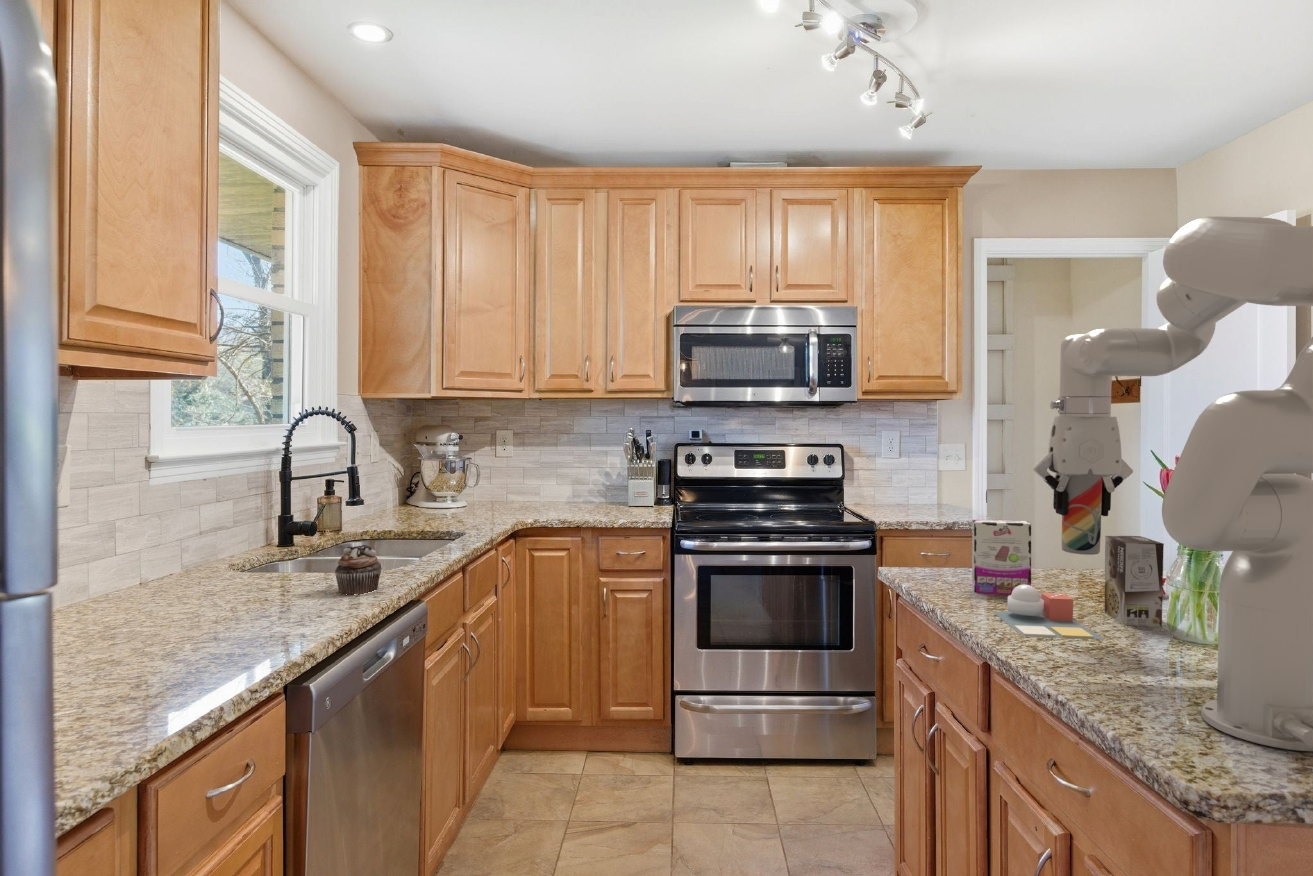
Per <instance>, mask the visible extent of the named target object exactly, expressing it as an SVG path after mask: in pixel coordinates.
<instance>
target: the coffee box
mask: <svg viewBox="0 0 1313 876" xmlns="http://www.w3.org/2000/svg"><path fill="white" fill-rule="evenodd" d="M1104 538H1105V540H1104V541H1105V542H1104V549H1105V550H1104V555H1105V556H1104V614H1106V615H1107V616H1110V617H1111V618H1113V619H1114V620H1116V621H1117V622H1119V623H1121V624H1122V625H1123V626H1135V627H1153V628H1155V627H1157V628H1158V627H1159V628H1162V627H1163V596H1162V594H1163V589H1164V586H1163V578H1164V547H1165V546H1164V545H1165V543H1162V542H1160V541H1157V540H1153V539H1150V538H1147V537H1143V536H1139V535H1105V536H1104Z"/></svg>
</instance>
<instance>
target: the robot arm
mask: <svg viewBox="0 0 1313 876" xmlns="http://www.w3.org/2000/svg"><path fill="white" fill-rule="evenodd" d="M1162 265H1163V266H1162V267H1163V269H1164V273H1165V274H1166V276H1167V279H1165V280H1164V281H1163V282H1162V283H1161V284H1160V285H1159V287H1158V289H1157V292H1156V304H1157V308H1158V310H1159V312H1160V314H1161V315H1162V316H1163V318H1164V319H1165V320H1166V321H1167V323H1165V324H1164V325H1162V326H1159V327H1157V328H1146V327H1145V328H1143V327H1141V328H1140V327H1139V328H1137V327H1134V328H1133V327H1131V328H1129V327H1126V328H1125V327H1123V328H1112V327H1107V328H1098V329H1094V330H1091V331H1087V333H1081V334H1080V333H1079V334H1072V335H1068V336H1066V337H1065V338H1063V339H1062V341H1061V343H1060V365H1059V370H1060V371H1059V397H1058V398H1057V400H1055V401H1054V400H1052V401H1051V402H1050V406H1049V407H1050V409H1051V410H1056V411H1057V413H1058V415H1055V416H1054V420H1053V422H1052V426H1051V430H1050V431H1051V432H1050V437H1049V442H1048V453H1047V455H1046V456H1045V457H1044V458H1043V459H1042V460H1041V461H1039V463H1038V464H1036V466H1035V467H1034V468H1033V472H1034V473H1036V474H1037V475H1038V476H1039V477H1040V478H1041V479H1042V480H1043V481H1044V482H1045V483H1046V484H1047V485H1048V486H1049V487H1050V488H1051V490H1053V503H1052V507H1053V510H1055V513H1056V514H1058V515H1061V516H1062V515H1067V513H1068V493H1067V492H1065V487H1066V485H1067V482H1068V480H1069V478H1070V475H1072V476H1080V475H1084V474H1087V473H1088V471H1089V469H1092V471H1093V474H1095V475H1098V476H1102V506H1101V517H1108V516H1109V511H1111V508H1112V507H1111V506H1112V505H1111V504H1112V493H1114V491H1116V490H1115V489H1117V487H1119V486H1120V485H1121V484H1122V483H1123V482H1124V481H1125V480H1126V479H1127V478H1128V477H1130V476H1131V475H1133V473H1134V470H1133V469H1132V467H1130V465H1129V464H1127V462H1125V460H1124V459H1123V458H1122V444H1121V443H1122V442H1121V434H1120V428H1119V421H1118V418H1117V416H1112V412H1111V411H1112V410H1111V409H1112V384H1113V383H1112V382H1113V381H1112V379H1113V378H1112V377H1158V376H1163V375H1166V374H1168V373H1169V374H1170V373H1171V372H1173V371H1176V370H1178V369H1179V368H1181V367H1182V366H1185V365H1186V364H1187V363H1188V364H1189V362H1192V360H1194V359H1196V358H1197V357H1198V356H1200V355H1201V354H1203V352H1204V351H1206V349H1207V348H1208V346H1209V344H1210V342H1211V340H1212V338H1214V337H1213V336H1214V334H1215V330H1216V323H1218V322H1219V321H1221V320H1222V319H1224V318H1225V317H1227V316H1228V315H1230V314H1231V313H1233V312H1234V311H1236V310H1238V309H1239V308H1241V307H1243V306H1244V305H1245V304H1247V303H1249V304H1255V305H1261V306H1262V305H1263V306H1273V307H1274V306H1275V307H1284V306H1285V307H1313V225H1293V224H1291V223H1289V222H1288V221H1284V220H1281V219H1278V218H1272V217H1263V216H1262V217H1259V216H1257V217H1255V216H1253V217H1252V216H1249V217H1248V216H1205V217H1201V218H1197V219H1195V220H1192V221H1190V222H1188V223H1186V224H1185V225H1183V226H1182V227H1180V228H1179V230H1177V231H1176V232H1175V233H1174V234H1173V236H1172V237H1171V239H1169V241H1168V243H1167V244H1166V247H1165V250H1164V253H1163V260H1162ZM1189 433H1190V434H1189V435H1188V438H1187V440H1186V442H1185V445H1184V446H1183V449H1182V451H1181V453H1180V456H1179V458H1178V460H1177V463H1176V465H1175V468H1174V470H1173V471H1172V473H1171V477H1170V479H1169V481H1168V484H1167V485H1166V489H1165V492H1164V495H1163V499H1162V502H1161V503H1162V504H1161V505H1162V506H1161V517H1162V522H1163V525H1164V529H1165V530H1166V532H1167V533H1168V535H1169V536H1170V538H1172V540H1174V541H1175V542H1176V543H1177V544H1179V545H1181V546H1183V547H1185V548H1188V549H1191V550H1195V551H1201V552H1231V554H1230V555H1229V557H1228V559H1227V561H1226V562H1225V565H1224V566H1223V569H1222V573H1221V575H1220V578H1219V579H1220V580H1219V590H1218V592H1219V595H1218V597H1219V598H1218V624H1217V625H1218V632H1217V639H1218V640H1217V681H1216V683H1217V686H1216V687H1217V688H1216V690H1217V691H1216V700H1211V701H1208V702H1206V703H1203V704H1202V706H1201V711H1200V714H1201V718H1202V719H1203V720H1204V722H1206V723H1207V724H1208V725H1210V726H1211V727H1213V728H1214V729H1216V730H1218V731H1220V732H1223V733H1225V734H1227V735H1230V736H1233V737H1235V738H1236V739H1237V738H1238V739H1241V740H1245V741H1248V742H1250V743H1255V744H1259V745H1262V746H1267V747H1272V748H1277V749H1282V750H1290V751H1297V752H1298V751H1300V752H1313V479H1312V478H1309V477H1307V476H1305V475H1304V476H1303V475H1302V474H1313V336H1312V337H1311V338H1310V339H1309V340H1308V341H1307V342H1306V344H1305V345H1304V346H1303V347H1302V349H1301V350H1300V352H1299V354H1298V355H1297V358H1296V360H1295V363H1294V365H1293V367H1292V368H1291V370H1290V372H1289V374H1288V376H1287V378H1286V379H1285V381H1283V383H1282V384H1281V385H1280V387H1278V388H1275V389H1272V390H1269V389H1268V390H1266V389H1264V390H1259V389H1258V390H1254V389H1253V390H1241V391H1234V392H1232V393H1231V392H1230V393H1228V394H1225V395H1223V396H1220V397H1218V398H1217V399H1215V400H1213V402H1211V403H1210V404H1208V405H1207V407H1206V408H1204V409H1203V411H1202V412H1201V413H1200V414H1199V415H1198V417H1197V419H1196V421H1195V422H1194V424H1193V427H1192V428H1191V429H1190V432H1189ZM1048 470H1049V471H1050V472H1051V473H1055V475H1054V476H1053V475H1052V474H1050V472H1049V471H1048Z"/></svg>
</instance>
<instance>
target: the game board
mask: <svg viewBox="0 0 1313 876" xmlns="http://www.w3.org/2000/svg"><path fill="white" fill-rule="evenodd" d="M1040 598H1041V599H1043V600H1044V614H1043V615H1039V616H1028V615H1020V614H1015V613H1012V612H1010V611H997V610H996V611H991V613H993V614H994V615H996V616H997V617H998V618H999V619H1000V620H1002V622H1005V624H1007V626H1009V627H1010V628H1012V630H1013V631H1015V632H1016V633H1018V634H1019V635H1020V636H1021V637H1029V638H1030V637H1031V638H1051V639H1053V638H1054V639H1055V638H1056V639H1074V640H1075V639H1076V640H1077V639H1078V640H1079V639H1080V640H1082V639H1083V640H1102V641H1103V640H1105V638H1103V637H1102V636H1101V635H1099V634H1097V633H1095V632H1094V631H1092V630H1090V629H1089V628H1087V627H1086V626H1085V625H1083V624H1082V623H1079V622H1078V621H1076V620H1075V619H1074V599H1073V598H1072V597H1070V596H1068V595H1067V594H1064V593H1048V592H1047V593H1045V592H1044V593H1042V592H1041V595H1040ZM1050 627H1072V628H1082V629H1083V630H1085V631H1086V632H1088V633H1089V634H1091V635H1093V636H1094V638H1078V637H1062V636H1060V635H1059V634H1057V633H1056V632H1055V631H1053V630H1052V629H1050Z"/></svg>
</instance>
